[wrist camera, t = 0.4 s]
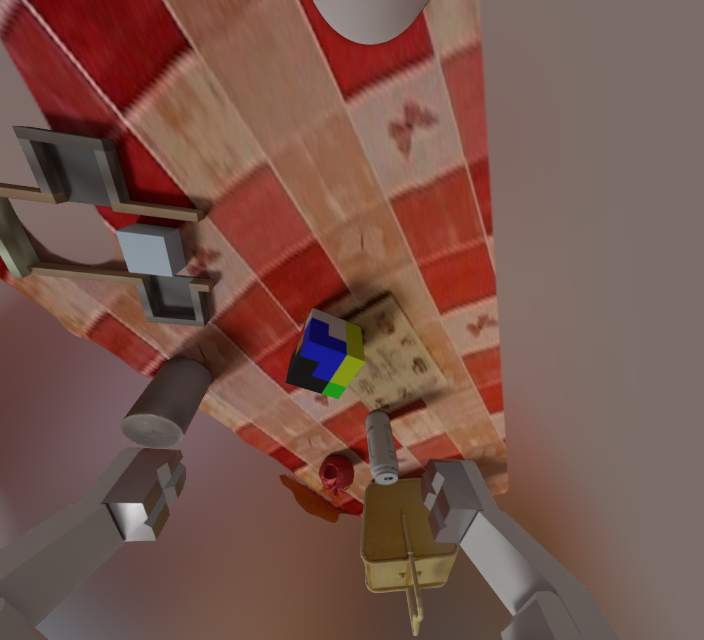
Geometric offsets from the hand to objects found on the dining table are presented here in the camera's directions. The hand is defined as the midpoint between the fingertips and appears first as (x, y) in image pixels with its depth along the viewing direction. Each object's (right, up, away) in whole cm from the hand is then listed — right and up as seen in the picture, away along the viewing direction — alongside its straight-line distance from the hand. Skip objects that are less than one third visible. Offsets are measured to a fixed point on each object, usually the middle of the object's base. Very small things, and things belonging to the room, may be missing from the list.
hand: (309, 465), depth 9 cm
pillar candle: (-33, -7, +48) cm, 59 cm away
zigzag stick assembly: (-34, +17, +32) cm, 50 cm away
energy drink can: (+8, -20, +59) cm, 63 cm away
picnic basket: (+17, -56, +83) cm, 102 cm away
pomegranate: (-3, -36, +69) cm, 78 cm away
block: (-28, +17, +33) cm, 46 cm away
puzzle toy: (-4, +2, +44) cm, 45 cm away
